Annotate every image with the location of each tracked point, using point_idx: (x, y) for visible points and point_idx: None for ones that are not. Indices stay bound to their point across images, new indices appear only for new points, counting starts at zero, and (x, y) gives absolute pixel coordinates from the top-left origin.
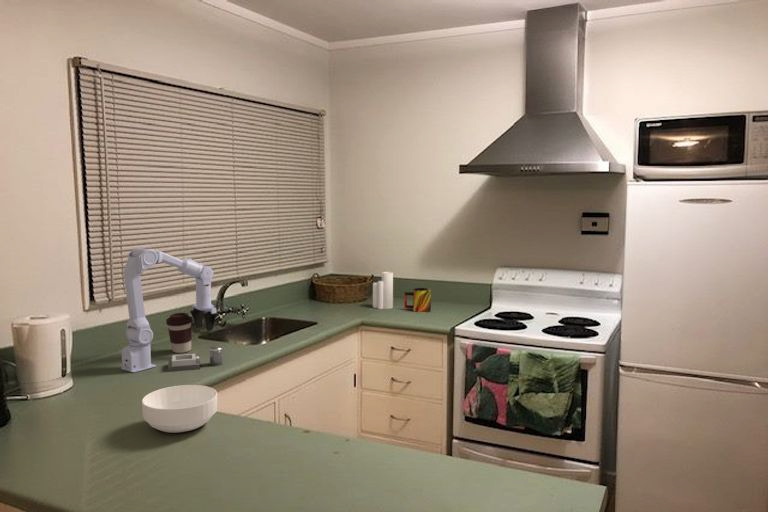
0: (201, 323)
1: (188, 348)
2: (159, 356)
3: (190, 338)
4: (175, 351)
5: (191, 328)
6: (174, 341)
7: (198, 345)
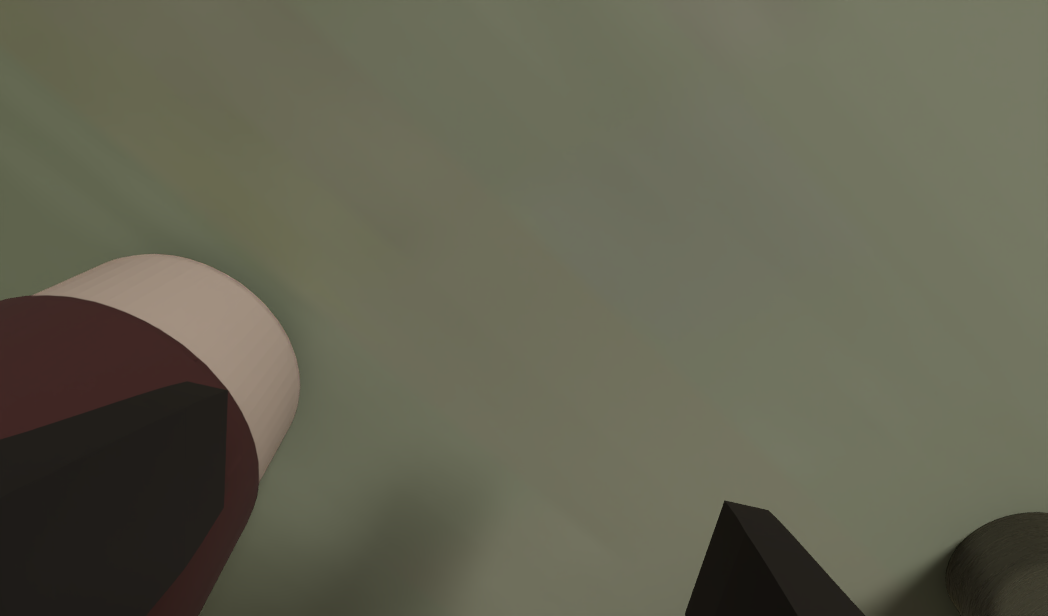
0: (161, 454)
1: (286, 379)
2: None
3: None
4: None
5: None
6: None
7: (89, 12)
